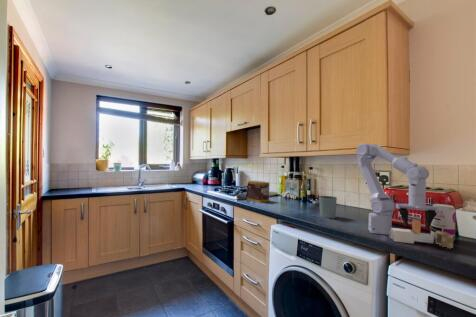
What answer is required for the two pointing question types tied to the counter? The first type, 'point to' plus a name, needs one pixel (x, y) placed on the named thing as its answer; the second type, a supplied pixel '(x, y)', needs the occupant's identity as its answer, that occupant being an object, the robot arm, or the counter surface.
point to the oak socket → (444, 239)
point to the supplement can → (444, 220)
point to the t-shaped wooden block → (417, 233)
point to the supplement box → (258, 191)
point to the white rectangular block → (403, 235)
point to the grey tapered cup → (327, 206)
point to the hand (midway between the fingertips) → (416, 227)
